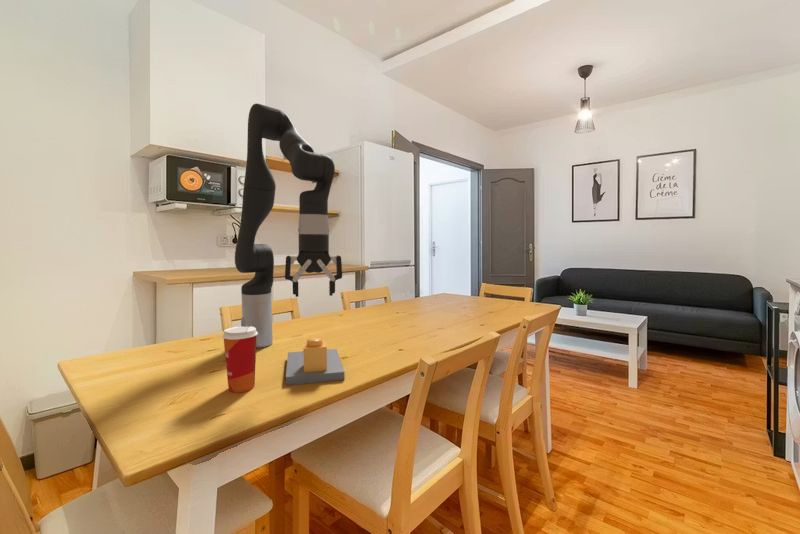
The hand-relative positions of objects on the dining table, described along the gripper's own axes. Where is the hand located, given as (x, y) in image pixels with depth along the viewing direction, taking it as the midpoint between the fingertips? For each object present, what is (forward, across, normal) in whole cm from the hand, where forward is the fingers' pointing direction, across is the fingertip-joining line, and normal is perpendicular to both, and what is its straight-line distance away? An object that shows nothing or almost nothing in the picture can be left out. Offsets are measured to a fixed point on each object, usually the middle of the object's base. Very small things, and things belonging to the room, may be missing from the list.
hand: (314, 295), depth 95 cm
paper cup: (+21, +17, +6) cm, 27 cm away
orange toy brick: (+18, 0, +2) cm, 18 cm away
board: (+20, 0, -3) cm, 21 cm away
